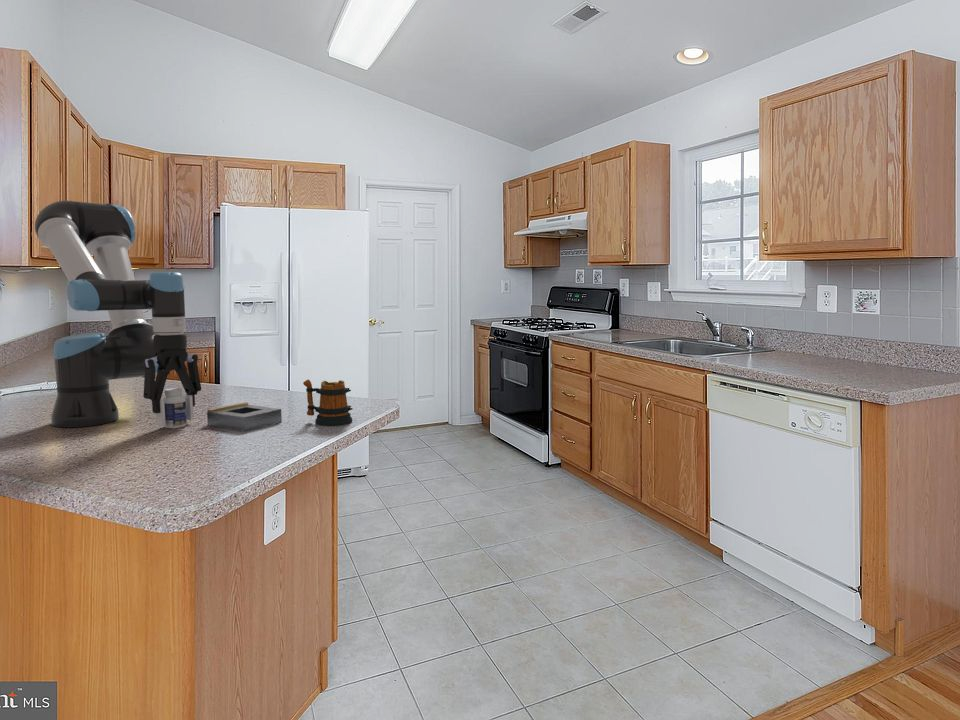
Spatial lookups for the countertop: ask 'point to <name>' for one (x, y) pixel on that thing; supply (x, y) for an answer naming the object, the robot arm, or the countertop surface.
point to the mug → (329, 403)
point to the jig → (243, 416)
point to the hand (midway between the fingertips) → (175, 422)
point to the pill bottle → (175, 408)
